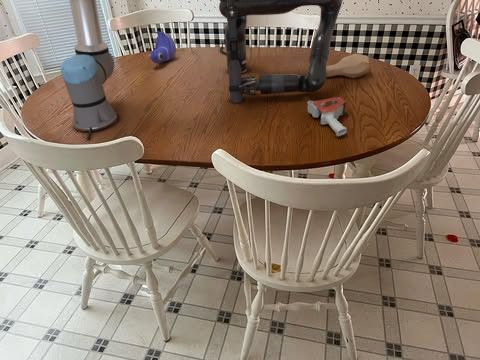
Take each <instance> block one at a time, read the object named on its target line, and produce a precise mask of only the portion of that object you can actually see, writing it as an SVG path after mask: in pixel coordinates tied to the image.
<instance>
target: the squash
mask: <svg viewBox="0 0 480 360" xmlns="http://www.w3.org/2000/svg"><path fill="white" fill-rule="evenodd" d="M369 69H370V58H369V56H368V55H365V54H360V53H356V52H355V53H352V54H349V55H347V56H344V57H342V58H341V59H340V60H339V62H337V63H335V64H334V63H333V64H330V65H326V78H329V77H330V78H331V77H334V76H335V77H336V76H345V77H347V78H352V79H355V78H361V77H363V76H364V75H365V74H367V73H368V72H369Z"/></svg>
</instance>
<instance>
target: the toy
mask: <svg viewBox="0 0 480 360" xmlns="http://www.w3.org/2000/svg"><path fill="white" fill-rule="evenodd" d="M154 34H155V35H156V34H157V36H156V40H155V43H154V44H155V45H154V49H153V50H150V53H149V59H150V60H151V61H152V62H153V63H154V64H156V66H157V68H160V63H164V62H168V61H170V60H171V59H173V57H174V56H175V55H176V53H177V46H176V43H175V41H174V39H173V38H172V36H171V35H167V34H166V33H165V32H164V31H162V30H161V31H154Z"/></svg>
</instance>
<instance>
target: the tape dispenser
mask: <svg viewBox="0 0 480 360" xmlns="http://www.w3.org/2000/svg"><path fill="white" fill-rule="evenodd" d="M329 102H331V105H328V106H326V103H329ZM346 105H347V103H346V100H345V99H344V98H343V97H342V96H333V97H331V98H329V97H328V98H325V99H320V100H315V101H314V100H308V101H307V113H308V114H311V116H312V118H319V117H320V125H329V127H330V128H331V129H332V130H333V132H334V133H335V136H336V137H340V136H344V135H345V134H346V133H347V131H348V128H347V127H345V126H344V125H343V124H342V123H340V121H338V119H339V117H340V116H343V115H344V113H345V110H346Z"/></svg>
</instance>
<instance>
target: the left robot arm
mask: <svg viewBox="0 0 480 360" xmlns="http://www.w3.org/2000/svg"><path fill="white" fill-rule="evenodd" d="M68 1H69V6H70V10H71V15H72V20H73V25H74V30H75V34H76V39H77V42H76V44H75V45H74V47H73V48H74V51H75V53H74V54H75V55H73V56H71V57H67V58H65V59H64V60H63V61H62V62H61V64H60V66H59V68H60V72H61V77H62V79H63V82H64V84H65V87H66V90H67V93H68V96H69V99H70V101H71V104H72V108H73V114H72V117H73V118H72V119H73V125H74V128H75V129H76V131H78V132H84V133H87V136H86V140H90V138H91V134H92V132H99V131H102V130H105V129H107V128H110V127H111V126H113V125H115V124H116V122H117V121H118V116H117V113H116V111H115V110H114V108H113V107H112V105H111V103H110V102H109V101H108V99H107V96H106V92H105V89H104V87H103V86H104V84H105V83H106V82H107V81H108V79H109V78H111V76H112V74H113V73H114V69H115V58H114V56H113V54H112V53H111V52H110V50H109V45H108V44H107V43H106V42H105V41H104V39H103V33H102V28H101V21H100V15H99V9H98V3H97V0H68ZM219 1H220V2H227V5H226V6H225V11H226V17H227V18H226V21H227V23H228V32H229V33H228V34H229V40H228V42H229V48H230V56H231V60H238V48H237V30H236V20H237V14H236V13H237V7H236V6H234V2H235V1H240V0H219Z"/></svg>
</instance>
